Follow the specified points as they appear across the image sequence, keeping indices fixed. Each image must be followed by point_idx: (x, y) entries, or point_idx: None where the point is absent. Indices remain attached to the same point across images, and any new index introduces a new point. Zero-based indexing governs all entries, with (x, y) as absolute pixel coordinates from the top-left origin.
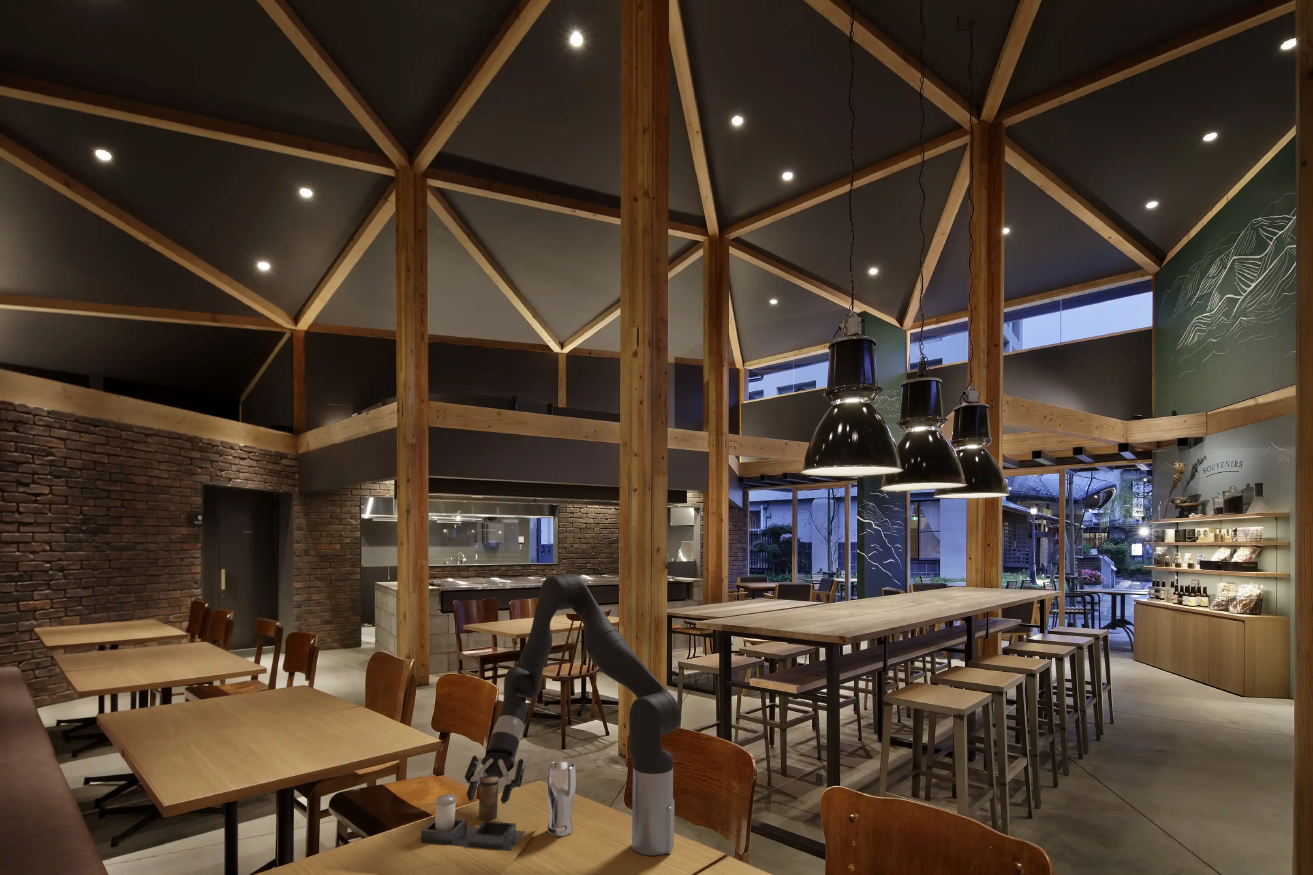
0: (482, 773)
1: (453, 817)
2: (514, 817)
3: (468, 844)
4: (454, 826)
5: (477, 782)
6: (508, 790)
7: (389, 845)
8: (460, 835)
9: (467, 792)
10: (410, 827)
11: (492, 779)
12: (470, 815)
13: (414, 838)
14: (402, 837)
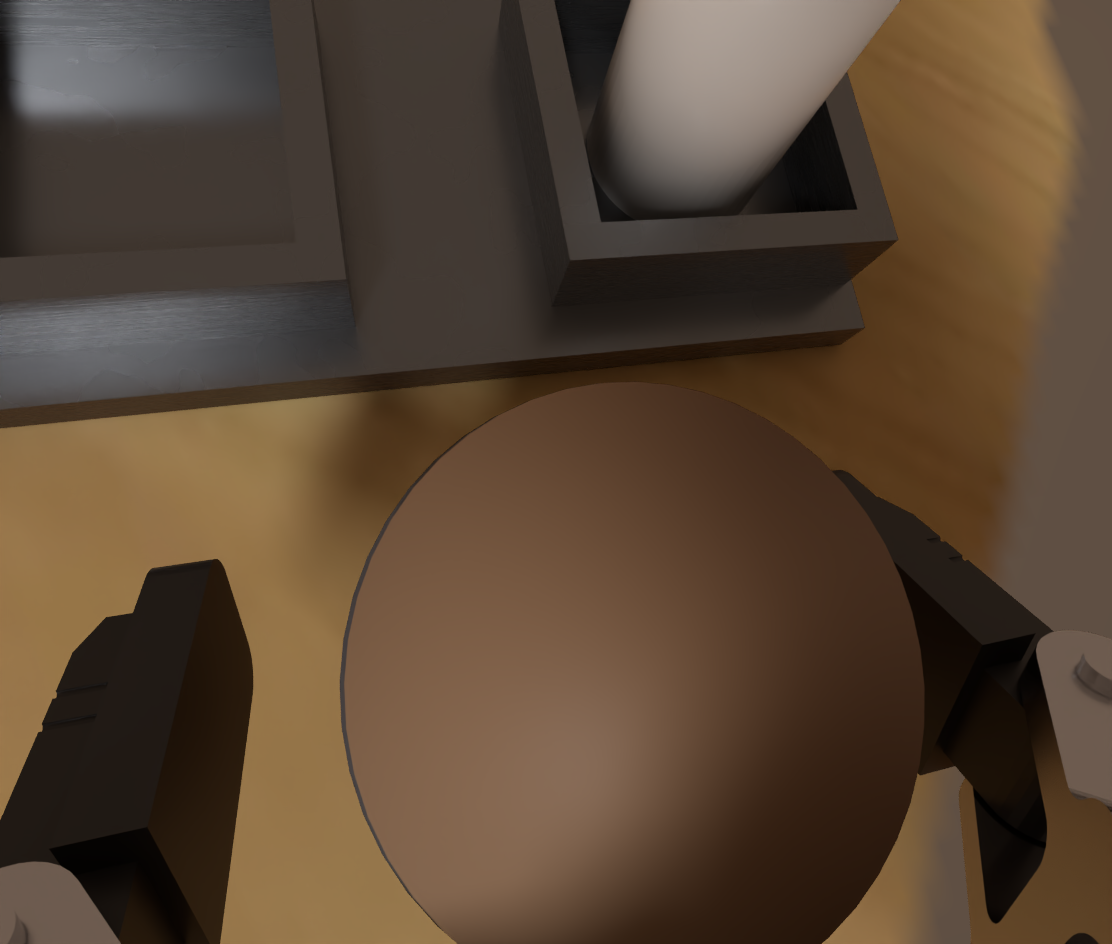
0: (1084, 899)
1: (635, 12)
2: (232, 898)
3: (334, 22)
4: (618, 149)
5: (996, 824)
6: (51, 766)
7: (933, 14)
8: (517, 164)
9: (912, 523)
10: (1035, 297)
11: (512, 628)
12: None
13: (867, 138)
14: (953, 135)
